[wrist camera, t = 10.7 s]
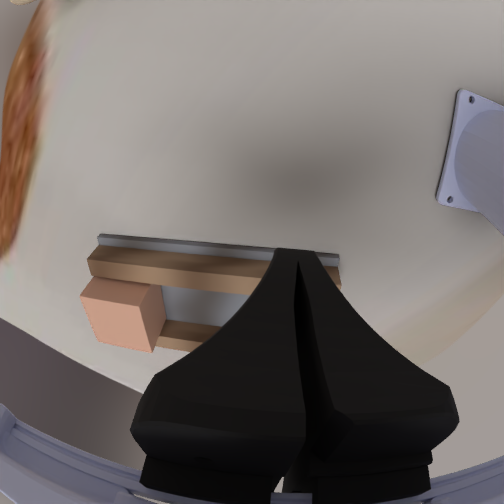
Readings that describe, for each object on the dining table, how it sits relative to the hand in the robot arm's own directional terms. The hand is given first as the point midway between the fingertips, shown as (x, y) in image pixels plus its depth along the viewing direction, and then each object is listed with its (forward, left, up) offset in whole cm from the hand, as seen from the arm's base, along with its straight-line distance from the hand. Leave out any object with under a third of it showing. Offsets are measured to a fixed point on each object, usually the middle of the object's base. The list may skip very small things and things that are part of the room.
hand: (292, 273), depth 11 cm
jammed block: (+12, +10, -9) cm, 18 cm away
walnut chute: (+5, +10, -9) cm, 15 cm away
